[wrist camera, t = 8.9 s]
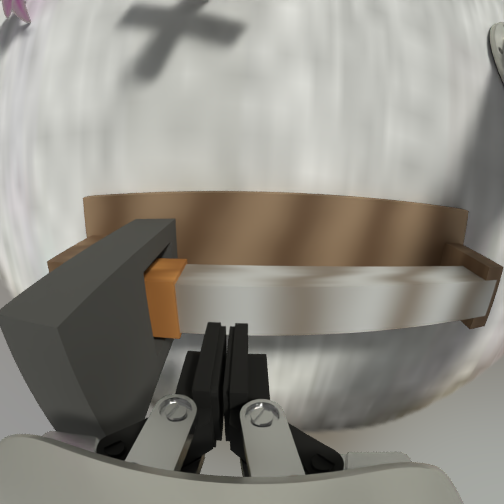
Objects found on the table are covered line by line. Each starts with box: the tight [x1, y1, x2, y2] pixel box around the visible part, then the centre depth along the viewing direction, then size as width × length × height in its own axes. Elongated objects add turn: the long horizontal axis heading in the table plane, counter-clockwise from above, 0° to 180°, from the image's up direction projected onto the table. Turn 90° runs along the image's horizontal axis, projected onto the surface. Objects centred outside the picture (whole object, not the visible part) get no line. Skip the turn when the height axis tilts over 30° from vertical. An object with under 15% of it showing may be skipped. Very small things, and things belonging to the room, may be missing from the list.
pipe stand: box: [47, 191, 503, 339], centre depth 18 cm, size 32×11×7 cm, turn 89°
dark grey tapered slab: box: [0, 219, 178, 439], centre depth 13 cm, size 3×8×14 cm, turn 179°
